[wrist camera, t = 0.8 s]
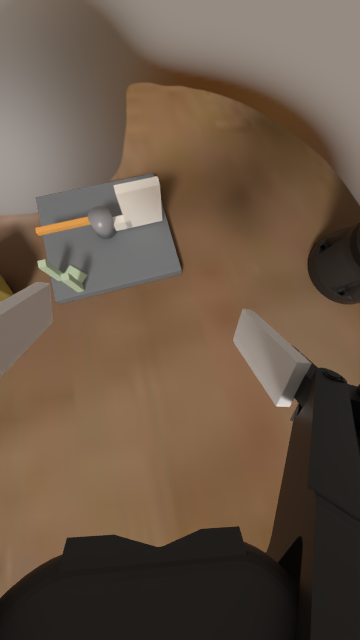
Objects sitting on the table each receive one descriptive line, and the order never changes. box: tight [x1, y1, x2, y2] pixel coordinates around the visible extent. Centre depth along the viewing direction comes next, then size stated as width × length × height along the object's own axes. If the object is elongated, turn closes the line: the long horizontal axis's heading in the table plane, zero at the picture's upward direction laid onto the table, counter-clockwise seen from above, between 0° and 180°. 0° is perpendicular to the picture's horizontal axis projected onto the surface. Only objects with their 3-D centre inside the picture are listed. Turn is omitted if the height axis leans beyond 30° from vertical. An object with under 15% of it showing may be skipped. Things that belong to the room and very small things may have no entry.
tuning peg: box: [35, 176, 162, 239], centre depth 37 cm, size 22×4×9 cm, turn 106°
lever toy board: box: [36, 173, 182, 304], centre depth 40 cm, size 24×22×8 cm
